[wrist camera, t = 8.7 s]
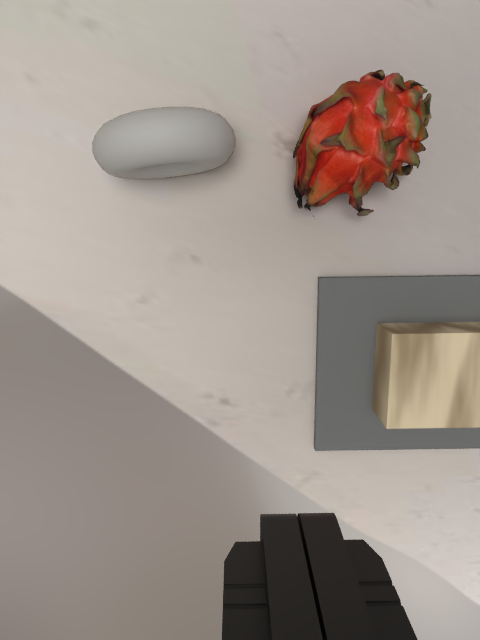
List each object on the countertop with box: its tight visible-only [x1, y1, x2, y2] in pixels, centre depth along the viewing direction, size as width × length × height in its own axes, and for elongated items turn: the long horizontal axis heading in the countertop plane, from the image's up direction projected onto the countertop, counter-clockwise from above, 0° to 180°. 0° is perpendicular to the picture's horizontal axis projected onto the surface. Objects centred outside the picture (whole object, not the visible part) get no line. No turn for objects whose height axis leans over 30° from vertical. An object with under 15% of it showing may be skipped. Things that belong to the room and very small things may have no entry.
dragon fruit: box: [293, 70, 431, 217], centre depth 34 cm, size 8×8×12 cm
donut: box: [92, 107, 235, 179], centre depth 32 cm, size 10×4×10 cm, turn 97°
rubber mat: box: [314, 275, 480, 451], centre depth 41 cm, size 17×16×1 cm
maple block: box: [372, 322, 480, 429], centre depth 38 cm, size 4×8×12 cm
